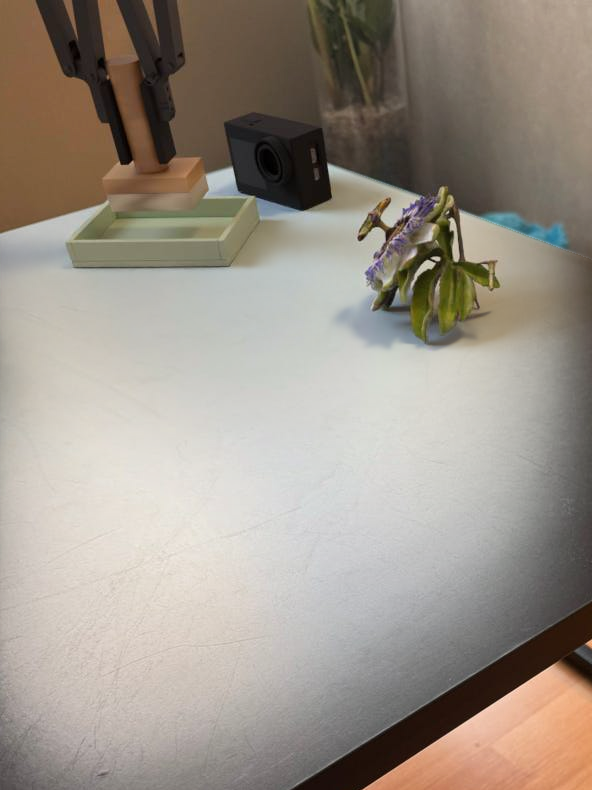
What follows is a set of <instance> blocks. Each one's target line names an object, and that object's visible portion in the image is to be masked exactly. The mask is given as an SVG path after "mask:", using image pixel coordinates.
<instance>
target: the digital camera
mask: <svg viewBox="0 0 592 790" xmlns="http://www.w3.org/2000/svg"><path fill="white" fill-rule="evenodd" d="M223 127H224V133H225V137H226V141H227V142H226V143H227V146H228V152H229V157H230V161H231V165H232V171H233V175H234V179H235V184H236V189H237V192H239V193H242V194H246V195H248V196H255V197H256V198H259V199H262V200H266V201H269V202H272V203H276V204H278V205H282V206H286V207H290V208H293V209H296V210H300V211H305V210H308V209H309V208H312V207H314V206H316V205H318V204H321V203H324V202H326V201H328V200H330V199H333V194H332V193H333V192H332V186H331V179H330V171H329V166H328V158H327V151H326V145H325V144H326V143H325V137H324V132H323V127H320V126H316V125H312V124H308V123H304V122H301V121H297V120H292V119H287V118H284V117H283V118H282V117H278V116H274V115H270V114H264V113H260V112H256V111H252V112H249V113H246V114H243V115H240V116H237V117H235V118H231V119H229V120H227V121H223Z"/></svg>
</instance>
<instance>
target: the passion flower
mask: <svg viewBox="0 0 592 790" xmlns="http://www.w3.org/2000/svg"><path fill="white" fill-rule="evenodd" d="M449 190H450V188H449V187H448V186H447V185H446V186H441V187H440V188H439V190H438V193H437V195H436V196H432V195H431V193H430V192H429V193H427V194H426V195H425V196H424V197H423V196H420V197H419V199H415V201H414V203H411V202H410V203H409V207H407V208H404V207H402V209H401V210H402V214H401V216H400V217H398V218H397V221H396V222H395V223H394V225H393V226H391V227H390V226H388V225H387V224H386V223H384V221H383V220H382V219H381V218H382V214H383V213H384V212H385V210H386V209H387V208H388V207H389V205H390V204H391V202H392V198H391V197H390V196H387V197H386V198H385V199H383V200H382V201H380V202H379V203H378V204H377V205H376V206H375V208H373V209H372V211H368V212H367V215H366V218H365V220H364V221H363V223H362V224H361V226H360V228H359V230H358V233H357V236H356V237H357V238H356V239H357V241H358V242H362V241H364V240H365V238H367V236H368V234H369V233H371V232H372V230H373V229H375V228H380V229H381V230H382V231H383V232H384V234H385V235H384V238H385V239H384V240H385V242H384V243H382V244H381V246H380V248H379V250H376V251H375V252H374V254H373V261H372V262H371V264H370V265H369V267H368V269H367V270H365V271H364V275H365V276H366V278H365V280H366V284H367V285H366V287H368V286H370V287H371V289H372V290H373V291H375V292H377V295H376V297H375V298H373V299H374V300H373V302H372V304H371V305H370V306H371V307H370V311H372V312H376V311H379V310H380V309H381V310H387V309H389V308H390V307H391V306H392V305H393V303H394V300H395V297H396V294H397V292H398V293H399V294H398V296H399V299H400V300H401V303H402V304H404V305H406V304H407V299H408V298H407V297H408V294H409V291H410V290H412V295H411V301H410V307H409V308H410V317H411V323H410V325H411V328H412V331H413V332H414V336H415V338H418V339H419V340H422V341H423V342H424V344H425V345H426V344H429V329H430V326H431V324H432V320H433V318H434V312H435V310H434V303H435V297H436V288H437V285H438V287H439V289H438V292H439V293H438V298H439V303H438V304H437V316H438V317H437V321H438V328H439V332H440V336H446V335H447V333H449V332H450V331H451V330H452V329H453V328H454V327H455V326H456V323H458V322H459V323H462V322H463V321H464V322H465V320H466V318H467V317H468V316H469V314H471V312H472V310H473V307H474V305H476V307H477V310H478V309H480V304H479V301H478V295H477V292H476V284H475V283H477V284H478V285H481V286H482V287H487V288H488V291H490V292H493V291H494V289H499V288H500V287H501V284H500V282H499V279H498V278H497V276H496V267H497V263H498V259H491V260H484V261H481V262H472V261H468V260H466V257H465V251H464V249H465V248H464V242H463V235H462V227H461V215H460V210H459V204H458V203H457V202H456V201H455V199H454V196H453V195H451V194H449V192H450V191H449ZM450 219H453V220H454V223H455V227H456V233H457V234H456V235H457V245H458V253H459V257H458V261H455V259H454V253H453V245H454V242H455V230H453V229H451V224H452V223H451V220H450ZM435 257H436V258H439V260H435V259H433V258H435ZM426 261H429V262H432V263H434V266H433V267H432V268H426V270H424V271H423V272H420V273H419V275H417V276H416V274H417V272H418V271H419V269H420V268H421V266H422V265H423V264H424V263H425V262H426ZM484 265H487V267H488V268H486V267H485V266H484ZM415 276H416V279H415ZM414 280H415V281H414ZM413 281H414V282H413ZM412 282H413V284H412ZM438 283H439V284H438ZM411 286H412V287H411Z"/></svg>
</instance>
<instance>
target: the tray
mask: <svg viewBox="0 0 592 790" xmlns="http://www.w3.org/2000/svg"><path fill="white" fill-rule="evenodd" d="M260 221H261V218H260V213H259V207H258V203H257V197H255V196H252V195H227V196H223V195H220V196H218V195H217V196H216V195H215V196H204V197H203V198H202V200H201V201H200V203H199V204H198V205H197V207H196V208H195V209H194V210H177V211H132V212H112V211H111V207H110V204H109V201H108V199H106V201H105V202H104V203H103V204H101V205H100V206H99V208H98V209H96V210H95V212H93V214H91V216H90V217H88V218H87V219H86V221H85V222H84V223H83V224H81V226H80V227H79V228H77V229H76V230H75V231H74V233H72V235H71V236H70V237H68V238H67V240H65V241H64V244H65V247H66V250H67V253H68V256H69V259H70V261H71V262H70V263H71V265H72V267H73V268H154V267H155V268H158V267H159V268H161V267H162V268H164V267H165V268H167V267H168V268H169V267H172V268H174V267H177V268H178V267H181V268H182V267H184V268H185V267H230V265H231V264H232V262H234V260H235V258H236V257H237V255H238V253H240V251H241V249H242V247H243V246H244V245H245V243H246V242H247V240H248V239H249V238H250V236H251V234H252V233H253V232H254V230H255V228H256V227H257V225H258V224H259V222H260Z"/></svg>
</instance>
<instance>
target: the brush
mask: <svg viewBox="0 0 592 790" xmlns="http://www.w3.org/2000/svg"><path fill="white" fill-rule="evenodd" d="M105 64H106V67H107V71H108V74H109V75H108V79H109V78H110V81H111V85H112V88H113V92H114V95H115V99H116V102H117V106H118V109H119V113H120V117H121V120H122V124H123V127H124V131H125V134H126V138H127V141H128V145H129V148H130V152H131V155H132V159H133V161H132V162H131V163H130V164H129V165H120V161H119V160H118V162H117V163H115V164H114V166H113V167H112V168H111V169H110V170H108V172H107V173H106V174H105V175H104V176H103V177H102V179H101V182H102V184H103V188H104V190H105V194H106V198H107V200H108V201H109V204H110V207H111V211H112V212H132V211H177V210H194V209H195V208H196V207H197V205H198V204H199V203H200V201H201V200H202V198H203V197H206V195H207V193H208V192H209V190H210V187H209V183H208V180H207V175H206V171H205V167H204V163H203V158H202V157H200V156H198V157H197V156H196V157H173V159H172V160H171V161H170V162H169V163H168V164H159V161H158V157H157V153H156V149H155V145H154V141H153V138H152V134H151V130H150V126H149V122H148V118H147V114H146V110H145V107H144V103H143V99H142V95H141V91H140V87H139V85H140V84H141V83H143V82H144V81H143V79H144V78H145V74H144V72H143V69H142V66H141V64H140V61H139V59H138V56H137V54H124V55H123V54H122V55H118V56H114V57H113V56H112V57H110V58H108V59H106V62H105Z"/></svg>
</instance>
